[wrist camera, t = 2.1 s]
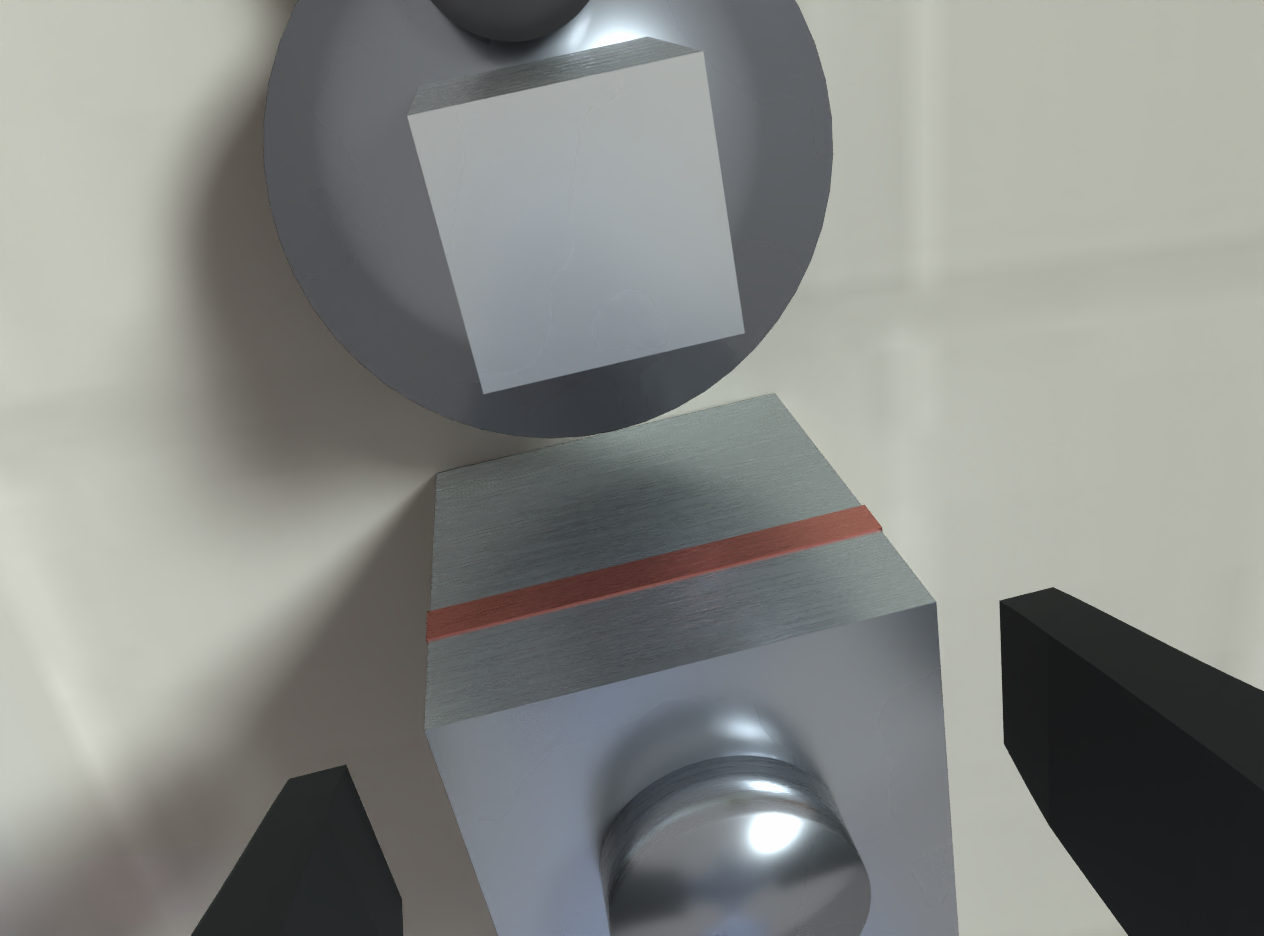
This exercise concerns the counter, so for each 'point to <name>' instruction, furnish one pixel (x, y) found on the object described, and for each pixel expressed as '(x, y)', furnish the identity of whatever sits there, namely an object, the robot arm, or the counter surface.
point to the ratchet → (548, 195)
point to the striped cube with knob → (687, 690)
